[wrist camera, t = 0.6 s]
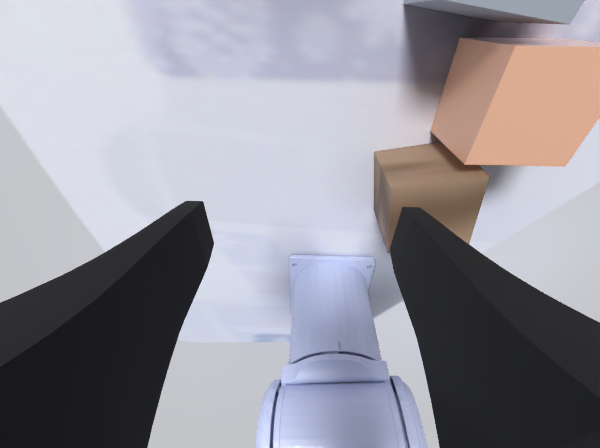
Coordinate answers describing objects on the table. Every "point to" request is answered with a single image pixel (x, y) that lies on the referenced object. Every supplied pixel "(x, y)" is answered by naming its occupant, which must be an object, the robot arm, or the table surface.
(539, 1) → the slate block
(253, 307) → the table surface
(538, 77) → the terracotta block
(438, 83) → the table surface
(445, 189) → the walnut block
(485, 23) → the table surface
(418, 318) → the robot arm
